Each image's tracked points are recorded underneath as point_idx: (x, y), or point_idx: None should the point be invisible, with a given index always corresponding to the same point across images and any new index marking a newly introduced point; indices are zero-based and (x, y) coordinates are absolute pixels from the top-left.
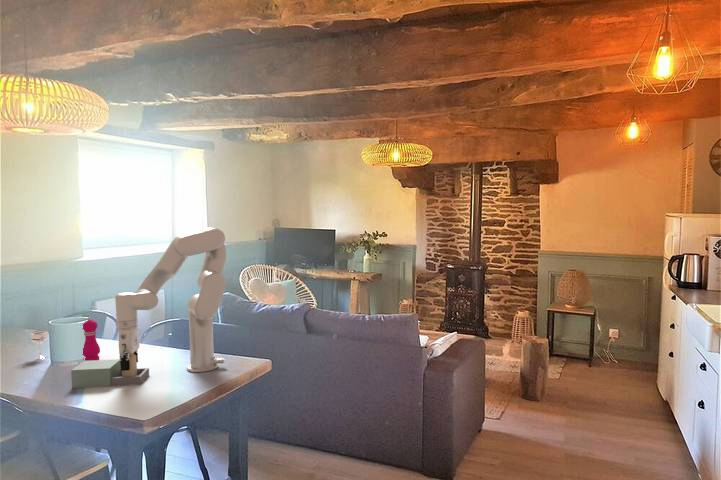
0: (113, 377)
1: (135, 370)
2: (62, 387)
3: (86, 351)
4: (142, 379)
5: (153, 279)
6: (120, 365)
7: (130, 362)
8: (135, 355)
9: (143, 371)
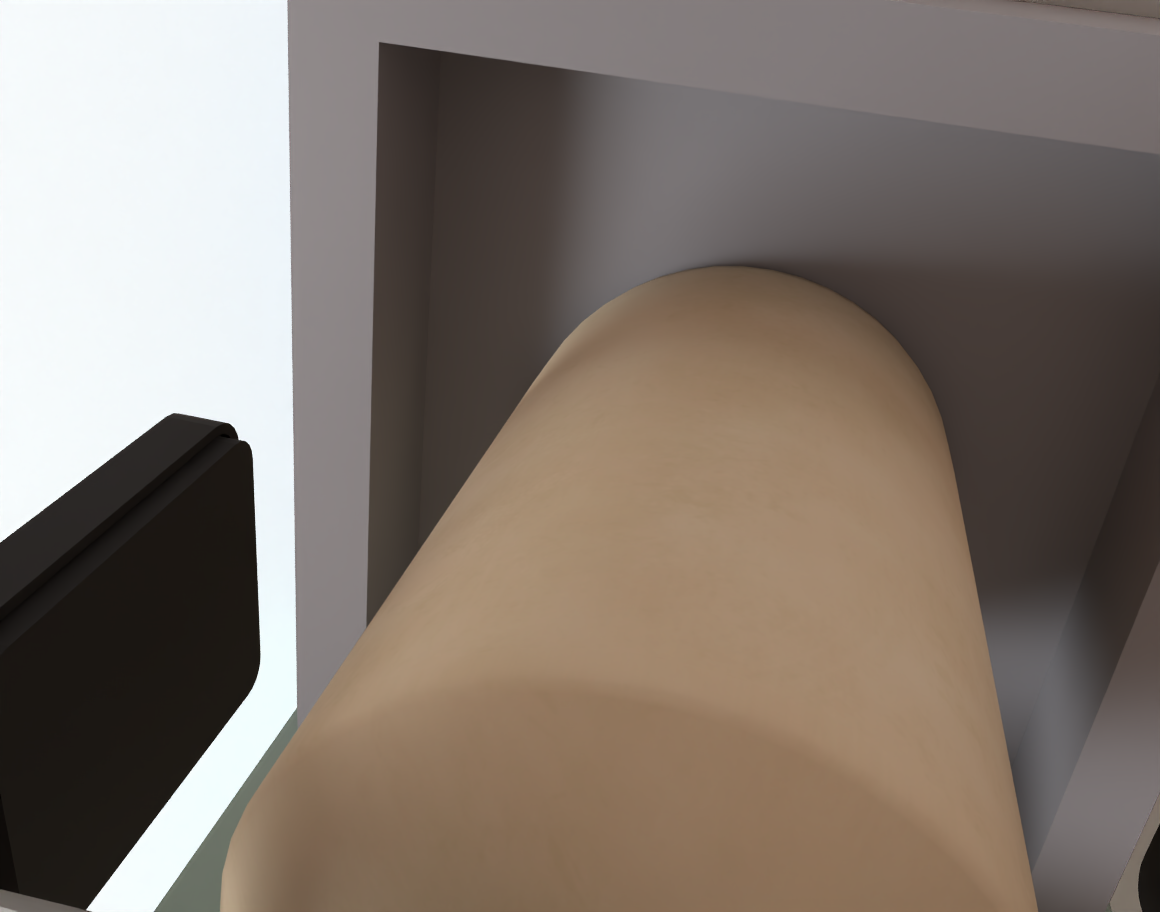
0: (1046, 896)
1: (834, 375)
2: None
3: None
4: (1146, 21)
5: None
6: None
7: (1009, 774)
8: (591, 747)
9: (717, 67)
